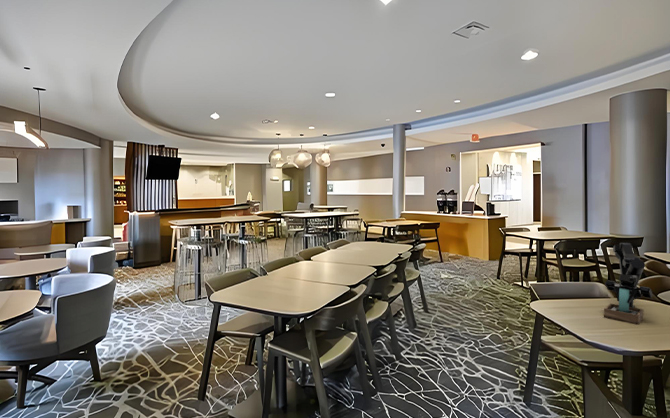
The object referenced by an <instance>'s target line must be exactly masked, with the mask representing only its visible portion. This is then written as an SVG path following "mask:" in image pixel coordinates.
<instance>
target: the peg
mask: <svg viewBox="0 0 670 418" xmlns="http://www.w3.org/2000/svg"><path fill="white" fill-rule="evenodd" d="M628 299H629V289H624V288H620V289H619V301H618V305H619V311H620V312H625V313H629V304H628V303H627V301H628Z"/></svg>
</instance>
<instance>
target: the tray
mask: <svg viewBox="0 0 670 418" xmlns="http://www.w3.org/2000/svg"><path fill="white" fill-rule="evenodd" d="M603 318H606V319H610V320H615V321H620V322H625V323H628V324H629V323H630V324H633V325H639V324H640V323H641V322H642V320H643V319H644V309H642V308H637V307H634V308H632V307H629V313H625V312H620V311H619V304H617V303H612V302H611V303H609V304H608V305H607V306H605V307H604V308H603Z"/></svg>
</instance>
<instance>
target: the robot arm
mask: <svg viewBox="0 0 670 418" xmlns="http://www.w3.org/2000/svg"><path fill="white" fill-rule="evenodd" d="M612 249H613V250H612V252H613V253H614V256H615V257H616V258H617V259H618V263H619V270H620V274H619V276H618V277H619V279H618V281H620V282H619V283H616V281H614V280H606V281H605V283H604V285H605V288H606V289H607V291H612V292H615V293H616V300H617V302H619V289H620V288H624V289H629V299H628V301H627V303H628V304H629V307H632V308H636V307H635V305H634V301H635V300H636V299H638V298H642V296H643V298H648V299H651V298H652V297H653V292H652V289H651V288H650V287H647V286H644V285H643V286H642V285H640V286H639V282H640V279H641V276H642V273H643V272H644V269H645V267H646V263H645V262H644V261H643V260H641V258H640V257H639V256H638V255H635V253H634V249H633V245H632V243H630V242H619V243H617V244H614V245H613V247H612ZM638 286H639V287H638Z"/></svg>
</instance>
